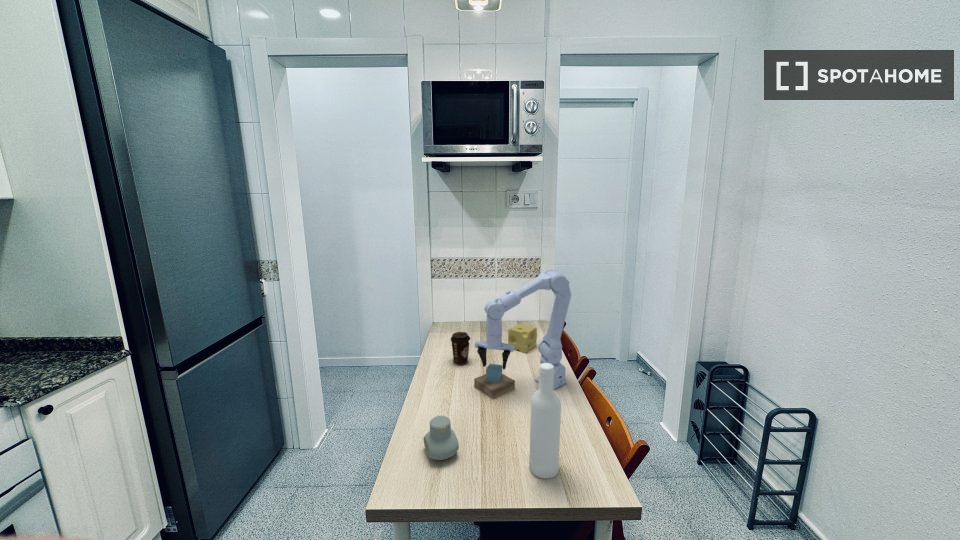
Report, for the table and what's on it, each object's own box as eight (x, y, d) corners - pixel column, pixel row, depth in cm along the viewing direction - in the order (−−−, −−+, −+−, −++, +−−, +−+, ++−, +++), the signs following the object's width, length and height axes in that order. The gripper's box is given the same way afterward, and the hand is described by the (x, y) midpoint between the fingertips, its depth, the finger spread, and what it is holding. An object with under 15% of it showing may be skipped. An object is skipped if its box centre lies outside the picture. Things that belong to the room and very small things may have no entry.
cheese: (526, 354, 168) (526, 333, 166) (506, 348, 175) (506, 328, 173) (537, 346, 176) (537, 327, 174) (518, 341, 183) (518, 322, 181)
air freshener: (422, 444, 108) (420, 414, 106) (448, 437, 111) (447, 407, 109) (432, 469, 98) (431, 436, 96) (461, 460, 101) (460, 428, 99)
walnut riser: (514, 390, 138) (514, 380, 137) (492, 400, 131) (492, 390, 130) (495, 379, 146) (495, 370, 146) (474, 388, 140) (474, 378, 139)
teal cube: (502, 377, 140) (502, 365, 139) (498, 383, 135) (498, 371, 134) (489, 375, 141) (489, 363, 140) (486, 381, 137) (486, 369, 136)
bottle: (555, 457, 102) (558, 358, 96) (562, 479, 94) (566, 372, 88) (526, 458, 102) (528, 359, 95) (531, 480, 94) (533, 373, 88)
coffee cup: (471, 358, 164) (471, 331, 162) (469, 366, 156) (469, 338, 153) (452, 357, 165) (452, 330, 162) (449, 366, 157) (448, 337, 154)
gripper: (515, 331, 136) (515, 364, 139) (478, 327, 140) (479, 360, 143) (511, 338, 129) (511, 373, 132) (473, 334, 134) (473, 368, 136)
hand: (494, 366), depth 137 cm, fingers open, 7 cm apart
